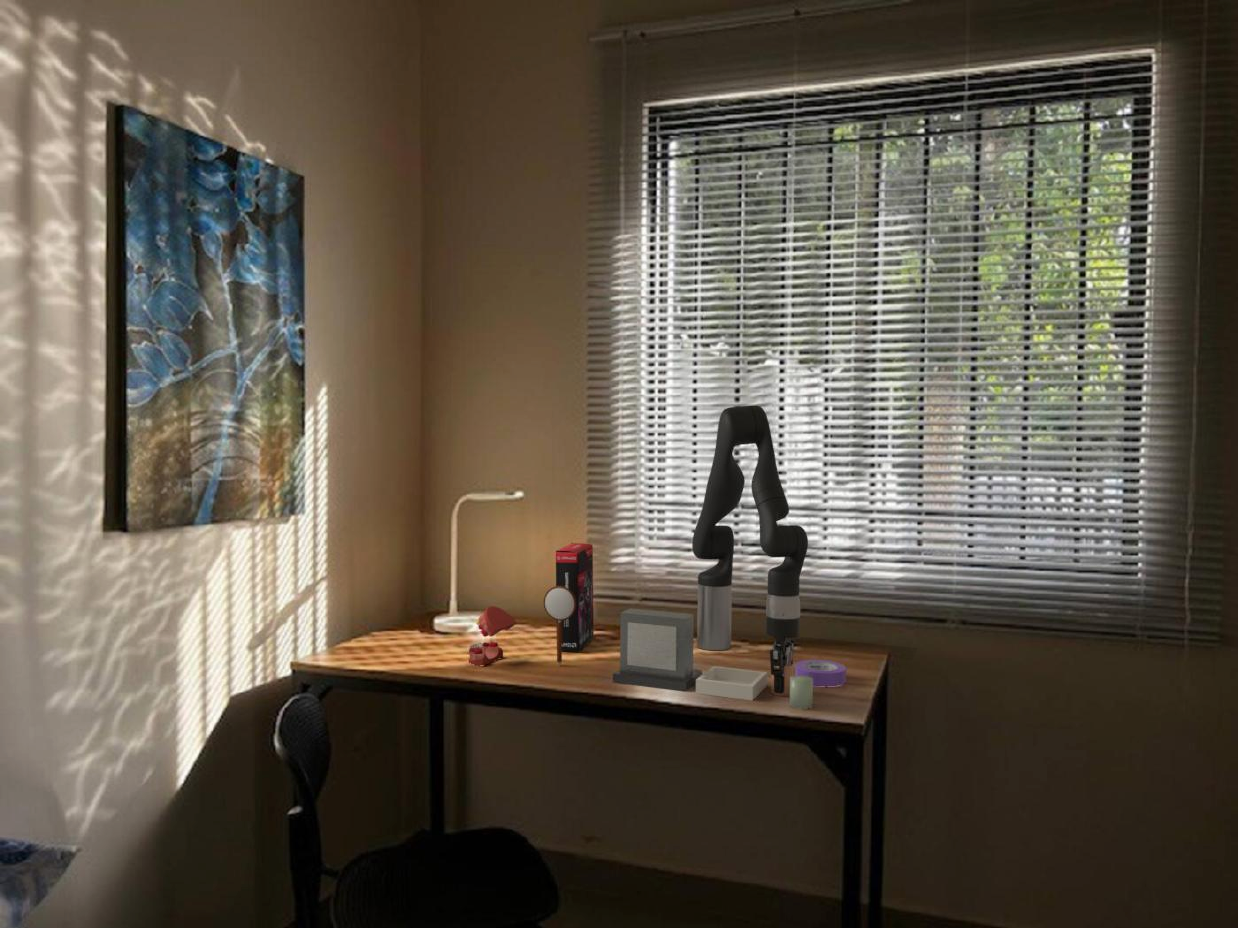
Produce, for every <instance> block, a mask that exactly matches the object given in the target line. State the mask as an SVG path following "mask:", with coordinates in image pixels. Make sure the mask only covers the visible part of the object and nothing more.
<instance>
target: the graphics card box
mask: <svg viewBox="0 0 1238 928" xmlns="http://www.w3.org/2000/svg"><path fill="white" fill-rule="evenodd" d="M593 547H594V546H593V544H591V543H590V544H589V543H585V542H584V543H582V542H581V543H580V542H571V543H570V544H567V545H565V546H563V547H561V548H558V549H557V550H555V586H564V587H566V588H568V589H569V590H570V591H571V592H572V593H573V594H574V596H575V599H576V609H575V612H574V613H573V615H572V616H571V617H570V618H568V619H566V620H562V621H561V622H562V653H563V652H567V653H569V652H570V653H579V652H580V651H582V650H583V648H584V647H585V646H587V645H588V644H589V643H590V642H591V641H593V639H594V637H595V635H594V634H595V633H594V629H595V628H594V561H593V560H594V559H593V557H594V556H593V555H594V553H593ZM555 621H556V623H555V624H557V622H558V620H555Z"/></svg>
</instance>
